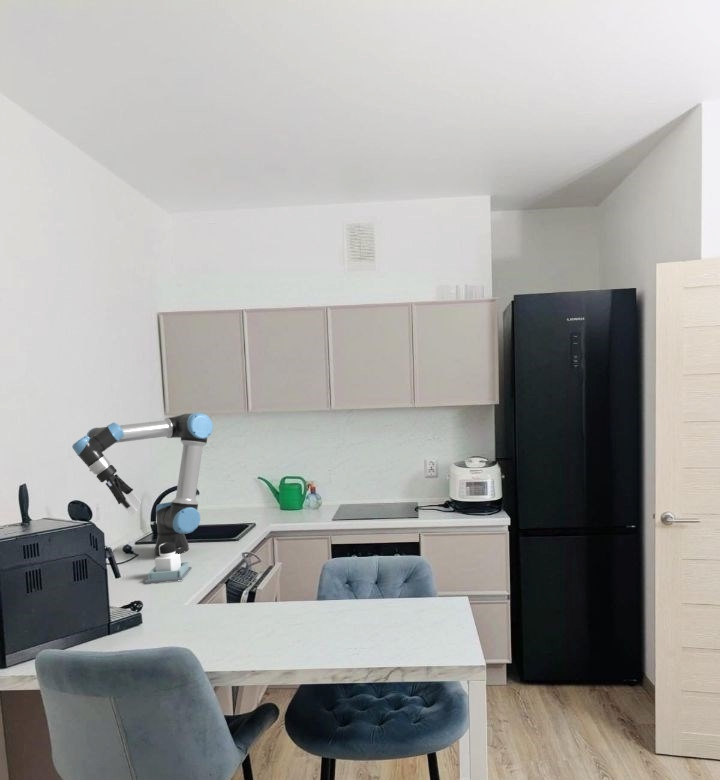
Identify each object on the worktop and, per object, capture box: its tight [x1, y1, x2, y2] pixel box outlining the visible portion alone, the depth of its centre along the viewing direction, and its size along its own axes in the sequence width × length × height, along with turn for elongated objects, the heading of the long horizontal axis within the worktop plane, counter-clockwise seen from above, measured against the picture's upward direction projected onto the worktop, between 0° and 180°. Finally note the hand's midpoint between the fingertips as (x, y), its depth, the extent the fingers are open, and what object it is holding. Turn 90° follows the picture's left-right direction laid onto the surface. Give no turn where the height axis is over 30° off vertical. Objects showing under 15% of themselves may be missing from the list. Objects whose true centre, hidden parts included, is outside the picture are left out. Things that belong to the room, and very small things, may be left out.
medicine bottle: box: [154, 543, 182, 572], centre depth 235 cm, size 7×7×12 cm
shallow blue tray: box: [144, 561, 192, 585], centre depth 235 cm, size 16×14×4 cm
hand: (136, 509), depth 247 cm, fingers open, 13 cm apart
